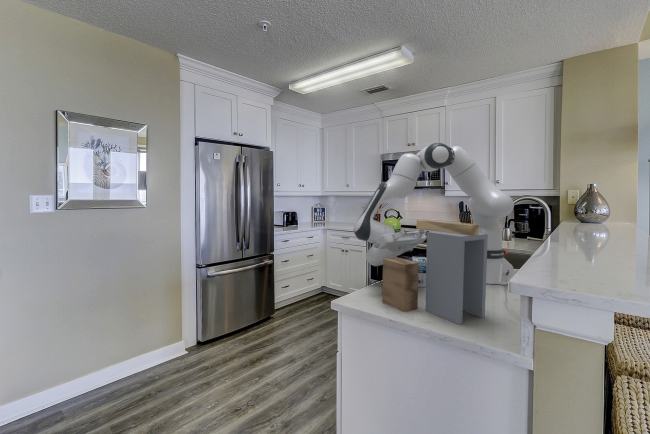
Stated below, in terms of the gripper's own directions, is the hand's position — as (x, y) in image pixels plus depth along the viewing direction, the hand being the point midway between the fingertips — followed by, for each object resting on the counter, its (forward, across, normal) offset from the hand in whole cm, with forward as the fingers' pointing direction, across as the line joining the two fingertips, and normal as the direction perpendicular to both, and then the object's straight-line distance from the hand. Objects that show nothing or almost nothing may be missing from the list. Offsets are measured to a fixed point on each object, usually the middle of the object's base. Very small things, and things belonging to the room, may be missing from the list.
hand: (414, 231), depth 117 cm
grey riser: (+3, 0, +31) cm, 31 cm away
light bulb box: (-23, +16, +16) cm, 32 cm away
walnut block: (-9, -10, +23) cm, 27 cm away
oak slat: (+13, 0, +6) cm, 14 cm away
